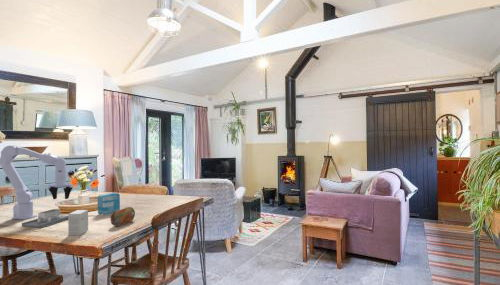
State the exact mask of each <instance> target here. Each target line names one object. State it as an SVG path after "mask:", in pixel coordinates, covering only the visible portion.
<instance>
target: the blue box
mask: <svg viewBox="0 0 500 285" xmlns="http://www.w3.org/2000/svg"><path fill="white" fill-rule="evenodd" d="M120 199H121V195H120V194H119V193H118V192H117V193H116V192H110V193H105V194H100V195H98V196H97V214H98V215H102V216H106V215H112V213H113V212H114V211H116V210H120V209H121V204H120V203H121V200H120Z"/></svg>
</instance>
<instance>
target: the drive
mask: <svg viewBox="0 0 500 285" xmlns="http://www.w3.org/2000/svg"><path fill="white" fill-rule="evenodd" d="M60 211H61V210H60V209H59V208H55V209H54V208H53V209H49V210H45V211H40V212H37V219H40V222H42V223H45V222H48V218H50V219H51V221H52V220H55V219H58V215H61V214H60V213H61V212H60Z"/></svg>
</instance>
